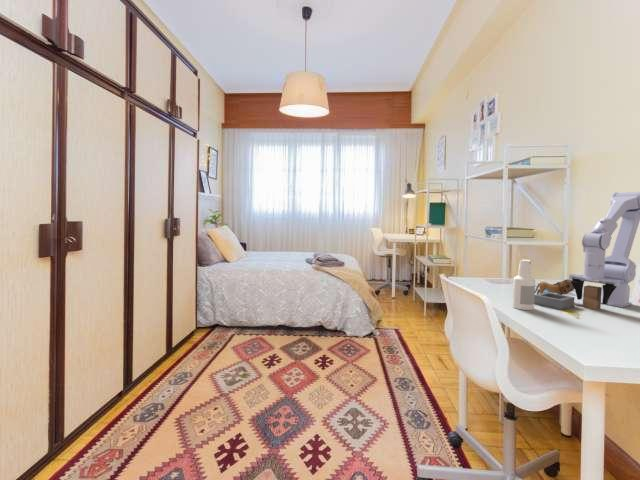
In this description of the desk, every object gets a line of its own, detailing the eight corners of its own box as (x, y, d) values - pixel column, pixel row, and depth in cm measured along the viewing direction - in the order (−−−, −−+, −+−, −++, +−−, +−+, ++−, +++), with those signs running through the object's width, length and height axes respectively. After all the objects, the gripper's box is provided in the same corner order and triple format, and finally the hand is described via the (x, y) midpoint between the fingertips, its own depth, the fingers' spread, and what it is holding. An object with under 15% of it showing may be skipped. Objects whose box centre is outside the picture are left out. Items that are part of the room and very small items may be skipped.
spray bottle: (530, 311, 115) (532, 262, 113) (509, 307, 120) (511, 260, 119) (536, 308, 119) (538, 260, 118) (515, 304, 124) (517, 258, 123)
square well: (546, 300, 130) (546, 292, 129) (573, 306, 121) (574, 297, 121) (533, 303, 125) (534, 295, 125) (561, 310, 117) (562, 300, 116)
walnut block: (587, 305, 122) (588, 285, 122) (600, 308, 119) (601, 287, 118) (582, 307, 120) (583, 286, 120) (595, 310, 117) (597, 288, 116)
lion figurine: (574, 301, 129) (576, 279, 128) (572, 303, 125) (574, 281, 125) (532, 294, 139) (533, 274, 139) (529, 297, 136) (530, 276, 135)
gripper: (566, 263, 122) (564, 298, 123) (615, 269, 110) (612, 307, 111) (574, 262, 126) (572, 296, 127) (623, 267, 113) (620, 305, 115)
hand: (591, 301), depth 119 cm, fingers open, 7 cm apart
